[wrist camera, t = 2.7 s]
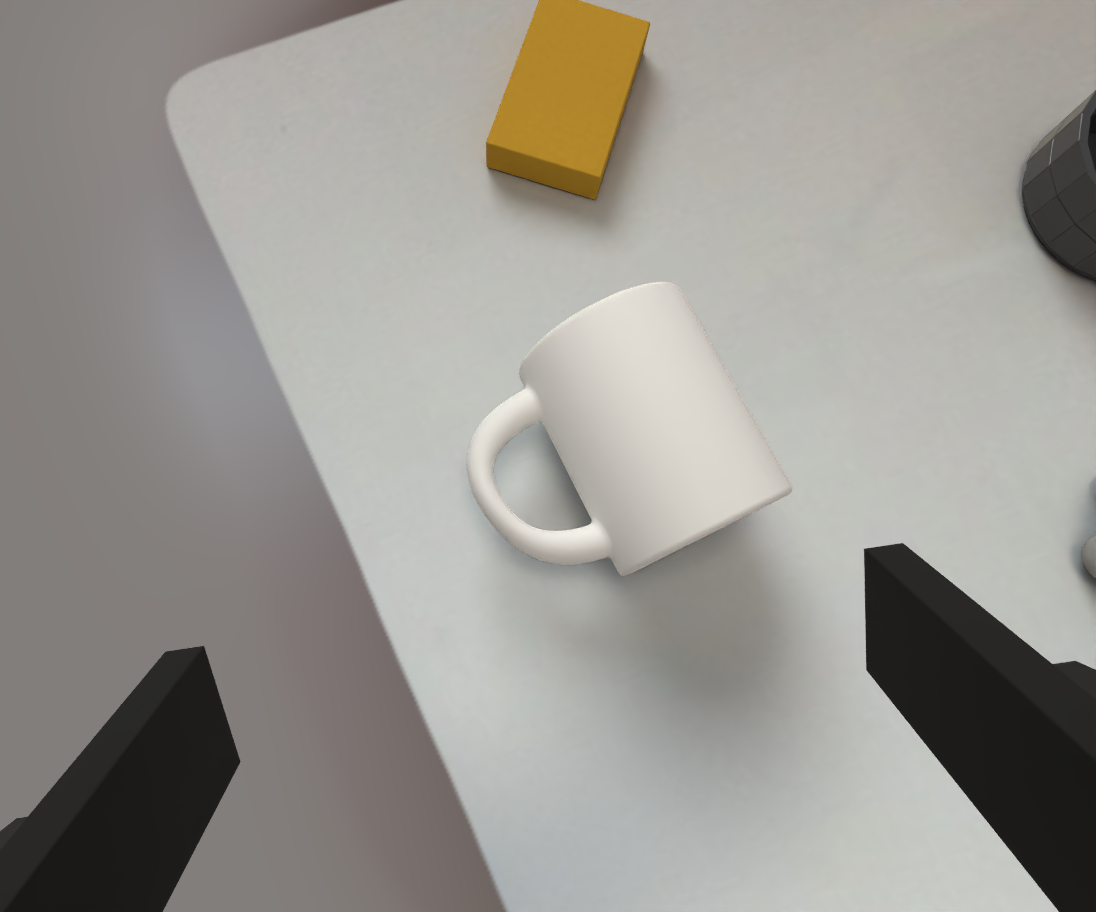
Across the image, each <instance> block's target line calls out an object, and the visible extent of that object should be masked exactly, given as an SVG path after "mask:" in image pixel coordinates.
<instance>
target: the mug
mask: <svg viewBox="0 0 1096 912" xmlns="http://www.w3.org/2000/svg"><path fill="white" fill-rule="evenodd" d="M519 375H520V379H521V381H522V383H523V385H524V387H525V388H524V390H522V391H520V392H519V393H517V394H515V395H513V396H512V397H510V398H509V399H507V400H506V401H504V402H503V403H501V404H500V405H499V406H497V407H496V408H495V409H494V410H493V411H492V412H490V413H489V414H488V415H487V416H486V418H485V419H484V420H483V421H482V422H481V424H480V425H479V426H478V428H477V429H476V431H475V433H474V435H473V437H472V439H471V442H470V445H469V449H468V454H467V472H468V478H469V482H470V485H471V489H472V491H473V494H474V496H475V498H476V500H477V502H478V504H479V506H480V508H481V510H482V511H483V513H484V514H485V516H486V517H487V519H488V520H489V521H490V523H491V524H492V525H493V526H494V528H495V529H496V530H497V531H498V532H499V533H500V534H501V535H502V536H503V537H504V538H505V539H506V540H507V541H508V542H509V543H511V544H512V545H513V546H514V547H516V548H517V549H519V550H520V551H522V552H523V553H525V554H527V555H529V556H531V557H533V558H535V559H538V560H541V561H544V562H547V563H552V564H559V565H576V564H583V563H589V562H593V561H597V560H600V559H603V558H606V557H609V558H611V559H612V561H613V563H614V565H615V567H616V569H617V571H618V573H619V574H620V575H622V576H627V575H629V574H631V573H633V572H635V571H637V570H639V569H641V568H643V567H645V566H647V565H649V564H651V563H653V562H655V561H657V560H659V559H661V558H663V557H665V556H667V555H669V554H671V553H673V552H675V551H677V550H679V549H681V548H683V547H685V546H687V545H689V544H691V543H693V542H695V541H697V540H699V539H701V538H703V537H705V536H707V535H709V534H711V533H713V532H715V531H717V530H719V529H721V528H723V527H725V526H727V525H729V524H731V523H733V522H735V521H737V520H739V519H741V518H743V517H745V516H747V515H749V514H751V513H753V512H755V511H757V510H759V509H761V508H763V507H765V506H767V505H769V504H771V503H773V502H775V501H777V500H779V499H781V498H783V497H785V496H787V495H789V494H790V493H791V492H792V485H791V483H790V482H789V480H788V478H787V476H786V475H785V473H784V471H783V469H782V468H781V466H780V464H779V462H778V460H777V459H776V457H775V455H774V453H773V452H772V450H771V448H770V446H769V445H768V443H767V441H766V439H765V437H764V436H763V434H762V432H761V430H760V429H759V427H758V425H757V423H756V422H755V420H754V418H753V416H752V414H751V413H750V411H749V409H748V407H747V406H746V404H745V402H744V400H743V399H742V397H741V395H740V393H739V391H738V390H737V388H736V386H735V384H734V383H733V381H732V379H731V377H730V376H729V374H728V372H727V370H726V368H725V367H724V365H723V363H722V361H721V360H720V358H719V356H718V354H717V353H716V351H715V349H714V347H713V345H712V344H711V342H710V340H709V338H708V337H707V335H706V333H705V331H704V330H703V328H702V326H701V324H700V322H699V321H698V319H697V317H696V315H695V314H694V312H693V310H692V308H691V307H690V305H689V303H688V301H687V299H686V298H685V296H684V294H683V292H682V291H681V289H680V288H679V287H678V286H676V285H675V284H672V283H668V282H654V283H647V284H643V285H639V286H635V287H632V288H629V289H626V290H623V291H620V292H618V293H615V294H613V295H611V296H608V297H606V298H604V299H602V300H600V301H598V302H596V303H594V304H592V305H590V306H588V307H586V308H584V309H583V310H581V311H579V312H578V313H576V314H574V315H573V316H571V317H570V318H568V319H566V320H565V321H564V322H562V323H561V324H559V325H558V326H557V327H555V328H554V329H553V330H551V331H550V332H549V333H548V334H546V335H545V336H544V337H543V338H542V339H541V340H540V341H539V342H538V343H536V344H535V346H534V347H533V348H532V349H531V350H530V351H529V352H528V354H527V355H526V356H525V358H524V360H523V361H522V364H521V366H520V371H519ZM536 422H541V423H543V425H544V426H545V428H546V430H547V432H548V434H549V436H550V438H551V440H552V442H553V444H554V446H555V448H556V450H557V452H558V454H559V456H560V458H561V460H562V462H563V464H564V466H565V468H566V470H567V472H568V474H569V476H570V478H571V480H572V482H573V484H574V486H575V488H576V490H577V492H578V494H579V496H580V498H581V500H582V502H583V504H584V506H585V508H586V510H587V512H588V514H589V516H590V518H591V520H592V522H591V523H590V524H589V525H587V526H584V527H580V528H576V529H571V530H564V531H547V530H542V529H538V528H535V527H532V526H530V525H528V524H526V523H525V522H523V521H522V520H521V519H519V518H518V517H517V516H516V515H515V514H514V513H513V512H512V510H511V509H510V508H509V507H508V505H507V504H506V502H505V501H504V499H503V497H502V496H501V494H500V492H499V490H498V488H497V485H496V482H495V479H494V463H495V460H496V457H497V455H498V454H499V452H500V451H501V449H502V448H503V447H504V446H505V445H506V444H507V443H508V442H509V441H510V440H511V439H512V438H513V437H514V436H516V435H517V434H518V433H520V432H521V431H523V430H524V429H526V428H528V427H529V426H531V425H533V424H534V423H536Z"/></svg>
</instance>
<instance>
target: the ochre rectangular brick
mask: <svg viewBox="0 0 1096 912" xmlns="http://www.w3.org/2000/svg"><path fill="white" fill-rule="evenodd" d="M649 26H650V22H648V21H644V20H641V19H638V18H634V17H631V16H628V15H625V14H621V13H618V12H615V11H611V10H608V9H605V8H602V7H598V6H595V5H592V4H589V3H585V2H582V1H579V0H539V2H538V5H537V7H536V10H535V13H534V15H533V18H532V21H531V23H530V26H529V29H528V32H527V34H526V37H525V40H524V42H523V45H522V48H521V50H520V53H519V56H518V58H517V61H516V64H515V67H514V69H513V72H512V75H511V77H510V80H509V83H508V85H507V88H506V91H505V93H504V96H503V99H502V101H501V104H500V107H499V110H498V112H497V115H496V118H495V120H494V123H493V126H492V128H491V131H490V134H489V136H488V139H487V142H486V158H487V167H489V168H492V169H496V170H499V171H502V172H505V173H509V174H512V175H515V176H518V177H522V178H525V179H528V180H532V181H535V182H538V183H541V184H545V185H548V186H551V187H555V188H558V189H561V190H564V191H568V192H571V193H574V194H577V195H581V196H584V197H587V198H591V199H594V200H595V199H596V197H597V194H598V191H599V188H600V185H601V182H602V178H603V175H604V172H605V169H606V166H607V163H608V160H609V156H610V153H611V150H612V147H613V144H614V141H615V138H616V135H617V131H618V128H619V125H620V122H621V119H622V116H623V113H624V109H625V106H626V103H627V100H628V97H629V94H630V91H631V88H632V84H633V81H634V78H635V75H636V72H637V69H638V66H639V62H640V59H641V56H642V53H643V50H644V46H645V42H646V38H647V34H648V30H649Z"/></svg>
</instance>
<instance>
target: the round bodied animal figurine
mask: <svg viewBox="0 0 1096 912" xmlns="http://www.w3.org/2000/svg"><path fill="white" fill-rule="evenodd" d="M1081 557H1082V561H1083V563H1084V565H1085V567H1086V569H1087V570H1088V572H1089V573H1090V574H1091V575H1092V576H1093V577H1094V578H1095V579H1096V535H1094V536H1092V537H1091V538H1090V539H1088V540H1087V542H1086V543H1085V544H1084V546H1083V547H1082V551H1081Z"/></svg>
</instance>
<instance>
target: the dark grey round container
mask: <svg viewBox="0 0 1096 912" xmlns="http://www.w3.org/2000/svg"><path fill="white" fill-rule="evenodd" d="M1022 195H1023V203H1024V208H1025V212H1026V215H1027V218H1028V221H1029V223H1030V225H1031V227H1032V229H1033V231H1034V232H1035V234H1036V235H1037V237H1038V239H1039V240H1040V241H1041V243H1042V244H1043V245H1044V246H1045V248H1046V249H1047V250H1048V251H1049V252H1050V253H1051V254H1052V255H1053V256H1054V257H1055V258H1056V259H1058V260H1059V261H1060V262H1061V263H1063V264H1064V265H1065V266H1067V267H1068V268H1070V269H1072V270H1073V271H1075V272H1077V273H1079V274H1081V275H1083V276H1085V277H1087V278H1090V279H1093V280H1095V281H1096V90H1095V91H1094V92H1093V93H1092V94H1091V95H1090V96H1089V97H1088V98H1087V99H1085V100H1084V101H1083V102H1082V103H1081V104H1080V105H1079V106H1078V107H1077V108H1076V109H1075V110H1073V111H1072V112H1071V113H1070V114H1069V115H1068V116H1067V117H1066V118H1065V119H1064V120H1063V121H1062V122H1060V123H1059V124H1058V125H1057V126H1056V127H1055V128H1054V129H1053V130H1052V131H1051V132H1050V133H1048V134H1047V135H1046V136H1045V137H1044V138H1043V139H1042V140H1041V141H1040V143H1039V144H1038V146H1037V147H1036V149H1035V150H1034V152H1033V154H1032V155H1031V157H1030V158H1029V160H1028V162H1027V166H1026V171H1025V175H1024V179H1023V187H1022Z"/></svg>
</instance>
